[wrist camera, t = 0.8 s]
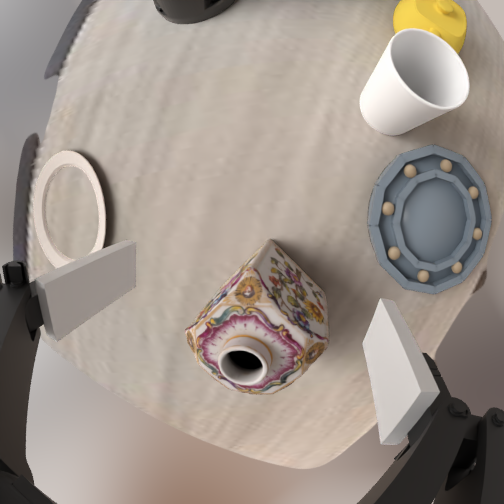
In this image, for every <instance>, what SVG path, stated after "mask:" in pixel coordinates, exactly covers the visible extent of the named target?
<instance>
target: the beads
mask: <svg viewBox="0 0 504 504" xmlns="http://www.w3.org/2000/svg"><path fill="white" fill-rule="evenodd" d="M440 167H441V169H442V170H443V171H444V172H450V171H451V169H452V164H451V162H450V161H449V160H447V159H444V160H442V161H441V163H440ZM416 173H417V171H416V168H415V167H414V166H413V165H411V164H408V165H406V166H405V167H404V174H405V176H406V177H408V178H413V177H415V175H416ZM468 192H469V193H470V195H471V197H472V199H476V198H477V197H478V194H479V192H478V189H477V188H476V187H474V186H471V187H470V188H469V189H468ZM381 210H382V213H383V214H384V215H387V216H389V215H392V214H393V212H394V205H393V204H392V203H391V202H384V203H383V204H382V209H381ZM472 237H473V238H474V239H475V240H479V239H480V238H481V237H482V231H481V229H480V228H477V227H476V228H474V232H473V236H472ZM388 256H389V258H390V259H392V260H396V259H398V258H399V257H400V250H399V248H398V247H396V246H392V247H390V248H389V250H388ZM451 269H452V271H453V272H454V273H459V272H461V270H462V264H461V263H460V262H459V261H458V262H457V263H455V264H454V265H452V266H451ZM417 277H418V280H419V281H420V282H426V281H427V280H428V279H429V273H428V271H427V270H420V271H419V272H418V275H417Z"/></svg>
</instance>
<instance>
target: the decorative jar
mask: <svg viewBox="0 0 504 504" xmlns="http://www.w3.org/2000/svg"><path fill="white" fill-rule="evenodd" d="M328 323H329V322H328V309H327V300H326V295H325V293H324V291H323V290H322V289H321V288H320V287H319V286H318V285H317V284H316V283H315V282H314V281H313V280H312V279H311V278H310V277H309V276H308V275H307V274H306V273H305V272H304V271H303V270H302V269H301V268H300V267H299V266H298V265H297V264H296V263H295V262H294V261H293V260H292V259H291V258H290V257H289V256H288V255H287V254H286V253H285V252H284V251H282V249H280V248H279V247H278V245H276V244H275V243H274V241H272V240H271V239H268V240H267V241H266V242H265V243H264V244H263V245H262V246H261V247H260V248H259V249H258V250H257V251H256V252H255V253H254V254H253V255H252V256H251V257H250V258H249V259H248V260H247V261H246V262H245V263H244V264H243V265H242V266H241V267H240V268H239V269H238V270H237V271H236V272H235V273H234V274H233V275H232V276H231V277H230V278H229V279H228V280H227V281H226V282H225V283H224V284H223V285H222V286H221V287H220V289H219V290H218V292H217V293H216V294H215V295H214V296H213V297H212V298H211V300H210V301H209V302H208V303H207V304H206V306H205V307H204V308H203V309H202V311H201V312H200V313H199V315H198V316H197V317H196V319H195V320H194V321H193V322H192V324H191V325H190V326H189V327H188V328H186V329H185V335H186V337H187V343H188V344H189V346H190V347H191V350H192V352H193V353H194V355H195V357H196V360H197V362H198V364H199V366H200V367H201V368H202V369H204V370H205V371H206V372H207V373H208V374H209V375H210V376H211V377H213V378H214V379H215V380H216V381H218V382H219V383H221V384H222V385H224V386H225V387H226V388H228V389H230V390H234V391H239V392H243V393H249V394H274V393H276V392H278V391H279V390H282V389H284V388H285V387H287V386H289V385H290V384H292V383H293V382H294V381H295V380H296V379H298V378H299V377H301V376H302V375H303V374H304V373H305V372H306V371H307V370H308V368H309V367H310V365H311V364H313V363H314V362H315V361H316V359H317V358H318V357H319V356H320V355H321V354H322V353H323V351H324V350H326V348H327V346H328V344H329V324H328Z"/></svg>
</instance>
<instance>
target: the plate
mask: <svg viewBox="0 0 504 504" xmlns="http://www.w3.org/2000/svg"><path fill="white" fill-rule="evenodd" d="M67 166H75V167H78V168H80V169H81V170H82V171H84V172H85V173H86V175H87V176H88V178H89V179H90V181H91V183H92V185H93V188H94V191H95V194H96V198H97V202H98V209H99V230H98V236H97V240H96V243H95V246H94V248H93V249H92V251H91V252H90V253H89V254H92V253H94V252H96V251H99V250H101V249H103V246H104V241H105V234H106V210H105V202H104V196H103V192H102V188H101V185H100V182H99V179H98V177H97V175H96V173H95V171H94V169H93V167H92V166H91V164H90V163H89V162H88V160H87V159H85V158H84V157H83V156H82V155H81V154H79V153H77V152H75V151H70V150H65V151H61V152H59V153H57V154H55V155H54V156H52V157H51V158H50V159H49V160H48V161H47V163H46V164H45V165H44V167H43V169H42V170H41V172H40V175H39V177H38V180H37V183H36V187H35V192H34V200H33V215H34V223H35V229H36V233H37V236H38V239H39V242H40V245H41V247H42V249H43V251H44V253H45V255H46V256H47V258H48V259H49V261H50V262H51V263H52V264H53V265H54V266H55V267H56V268H59V267H62V266H64V265H66V264H68V263H71V262H73V261H75V260H74V259H70V258H68V257H66V256H65V255H63V254H62V253H61V252H60V251H59V250H58V248H57V247H56V246H55V244H54V242H53V240H52V238H51V236H50V234H49V231H48V227H47V223H46V215H45V202H46V195H47V191H48V187H49V185H50V182H51V180H52V179H53V177H54V176H55V174H56V173H57V172H58V171H59V170H61V169H62V168H64V167H67Z"/></svg>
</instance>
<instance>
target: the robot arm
mask: <svg viewBox="0 0 504 504" xmlns="http://www.w3.org/2000/svg"><path fill="white" fill-rule="evenodd" d="M153 1H154V4H155V6H156V9H157V11H158V12H159V13H160V14H161V15H162V16H163V17H164V18H165V19H166V20H168V21H170V22H173V23H177V24H189V23H195V22H199V21H203V20H206V19H208V18H211V17H213V16H215V15H217V14H219V13H220V12H222V11H223V10H225V9H226V8H228V7H229V6H230V5H231V4H232V3H233V2H234V1H235V0H153ZM2 268H3V274H4V279H5V284H3V283H2V279H1V274H0V504H57V503H55V502H54V501H52V500H51V499H50V498H49V497H48V496H46V495H45V494H44V493H43V492H41V491H40V490H39V489H38V488H37V487H36V486H34V480H33V476H32V473H31V470H30V468H29V465H28V463H27V460H26V422H27V410H28V400H29V392H30V385H31V379H32V373H33V367H34V362H35V356H36V352H37V348H38V343H39V339H40V335H41V332H40V328H39V327H40V326H42V325H43V324H44V327H45V330H46V334H47V336H48V337H50V338H51V339H53V340H54V341H56V342H58V341H59V340H61V339H62V338H63V337H65V336H66V335H67V334H69V333H70V332H72V331H73V330H74V329H76V328H77V327H79V326H80V325H81V324H83V323H84V322H86V321H87V320H88V319H90V318H91V317H93V316H94V315H96V314H97V313H98V312H100V311H101V310H103V309H104V308H106V307H107V306H108V305H110V304H111V303H113V302H114V301H116V300H117V299H119V298H120V297H122V296H123V295H124V294H126V293H127V292H129V291H130V290H132V289H133V288H135V287H136V242H133V241H129V240H123V241H121V242H118V243H116V244H113V245H111V246H109V247H106V248H104V249H101V250H99V251H96V252H94V253H92V254H89V255H87V256H85V257H82V258H80V259H78V260H75V261H73V262H71V263H68V264H66V265H64V266H62V267H59V268H57V269H55V270H53V271H51V272H48V273H46V274H44V275H42V276H40V277H38V278H36V279H35V281H33V282H31V283H29V276H28V270H27V264H26V262H24V261H12V262H8V263H6V264H5V265H3V266H2ZM362 344H363V349H364V353H365V358H366V362H367V367H368V372H369V377H370V382H371V387H372V392H373V397H374V403H375V409H376V415H377V421H378V428H379V435H380V442H381V444H388V445H392V444H400V442H401V441H402V440H403V439H404V438H405V437H406V436H407V435H408V439H409V443H408V445H407V446H406V447H405V448H404V449H403V450H402V451H401V452H400V453H399V454H398V455H397V456H396V457H395V458H394V459H395V461H394V462H393V464H392V465H391V466H390V467H389V469H388V470H387V471H386V472H385V474H384V475H383V476H382V477H381V478H380V479H379V481H378V482H377V483H376V484H375V485H374V486H373V487H372V489H371V490H370V491H369V492H368V493H367V494H366V495H365V496H364V497H363V498H362V499H361V500H360V501H359V502H358V503H357V504H431V503H432V502H433V500H434V498H435V500H434V503H433V504H504V411H503V410H500V409H498V408H490V409H489V410H488V411H487V412H486V414H485V415H484V416H483V417H479V416H475V415H471V412H470V409H469V407H468V406H467V405H466V403H464V402H463V401H462V400H460V399H458V398H453V397H451V395H450V393H449V391H448V389H447V387H446V385H445V382H444V380H443V378H442V377H441V374H440V372H439V371H438V368H437V366H436V364H435V362H434V361H433V360H432V359H431V357H430V356H429V355H428V354H427V353H422V352H421V350H420V348H419V346H418V344H417V342H416V341H415V339H414V337H413V335H412V333H411V331H410V329H409V327H408V325H407V324H406V322H405V320H404V318H403V316H402V314H401V313H400V311H399V309H398V307H397V306H396V304H395V302H394V301H393V300H388V299H383V298H380V300H379V303H378V305H377V308H376V311H375V313H374V316H373V319H372V321H371V324H370V326H369V329H368V331H367V334H366V336H365V339H364V341H363V343H362ZM475 463H476V464H475Z"/></svg>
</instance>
